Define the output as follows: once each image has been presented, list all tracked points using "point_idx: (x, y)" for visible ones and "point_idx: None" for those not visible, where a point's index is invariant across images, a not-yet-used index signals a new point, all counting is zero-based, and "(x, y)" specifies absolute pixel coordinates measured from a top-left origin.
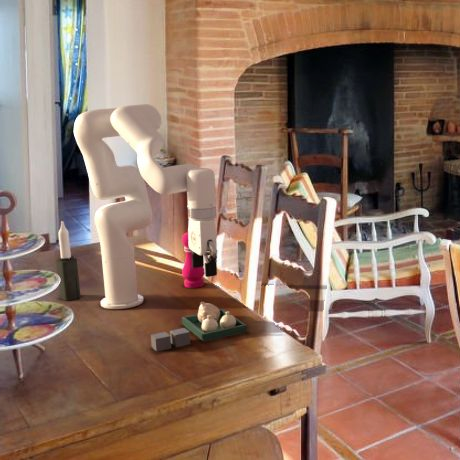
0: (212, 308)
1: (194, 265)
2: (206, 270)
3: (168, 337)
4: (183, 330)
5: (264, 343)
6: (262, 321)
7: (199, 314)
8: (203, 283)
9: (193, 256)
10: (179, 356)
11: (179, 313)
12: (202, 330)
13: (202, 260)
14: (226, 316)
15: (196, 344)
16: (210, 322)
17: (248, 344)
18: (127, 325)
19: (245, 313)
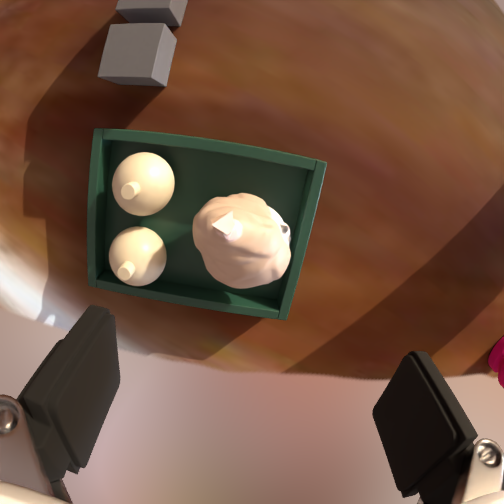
0: (209, 255)
1: (411, 371)
2: (63, 344)
3: (118, 4)
4: (127, 63)
5: (24, 262)
6: (166, 354)
7: (238, 198)
8: (490, 366)
9: (449, 432)
10: (78, 32)
11: (421, 224)
12: (199, 175)
13: (387, 444)
14: (121, 257)
15: (117, 105)
16: (115, 180)
17: (34, 229)
18: (441, 56)
19: (261, 360)
